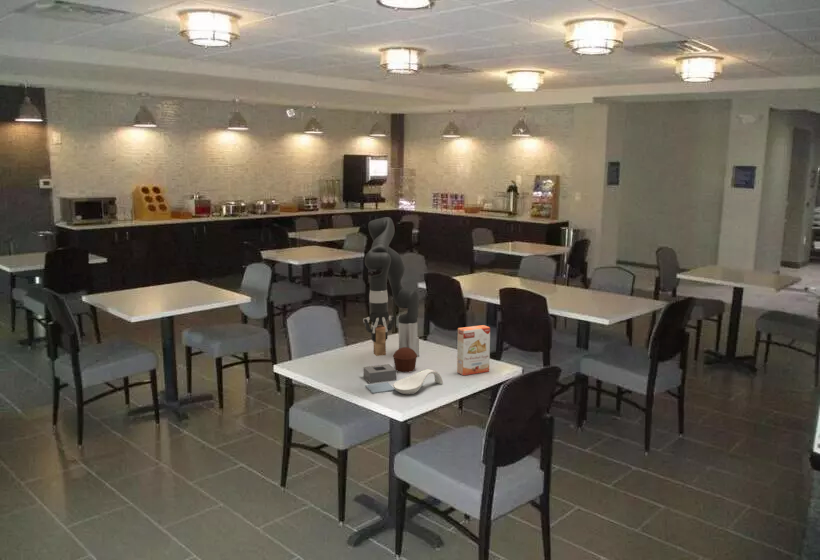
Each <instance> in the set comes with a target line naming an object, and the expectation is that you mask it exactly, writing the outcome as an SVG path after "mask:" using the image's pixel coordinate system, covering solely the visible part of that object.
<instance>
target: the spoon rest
mask: <svg viewBox="0 0 820 560" xmlns="http://www.w3.org/2000/svg"><path fill="white" fill-rule="evenodd" d="M430 374H433V375H434V382H435V383H436V384H439V385H443V384H444V380H443V377H442V375H441V374H440V373H439V372H438V371H435V370H432V369H422V371H419V372H416V373H414V374H412V375H410V376H406V377H404V378H401V379H399V380H395V382H394V383H393V385H392V387H393V388H394V389H395V390H396V392H398V393H400V394H403V395H413V394H416V393H417V392H418V391H419V390H420V389H421V388H422V386H423V384H424V382H425V380H426V379H427V377H428V376H429V375H430Z"/></svg>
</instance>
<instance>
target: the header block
mask: <svg viewBox="0 0 820 560" xmlns="http://www.w3.org/2000/svg"><path fill="white" fill-rule="evenodd" d="M362 369H363V373H362V375H363V378H364V379H365V380H366V381H367V382H368V383H369V384H378V383H386V382H391V381H397V370H396V369H395V367H393V366H392V365H391V364H389V363H386V364H376V365H369V366H368V365H367V366H363V367H362Z"/></svg>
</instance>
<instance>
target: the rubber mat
mask: <svg viewBox="0 0 820 560" xmlns="http://www.w3.org/2000/svg"><path fill="white" fill-rule="evenodd" d="M365 387H366V389H368V391H369V392H370V393H371V394H380V393H388V392H395V391H396V392H397V390H395V388H394V387H393V385H391V384H390V383H389V381H386V382H378V383H370V384H366V385H365Z"/></svg>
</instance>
